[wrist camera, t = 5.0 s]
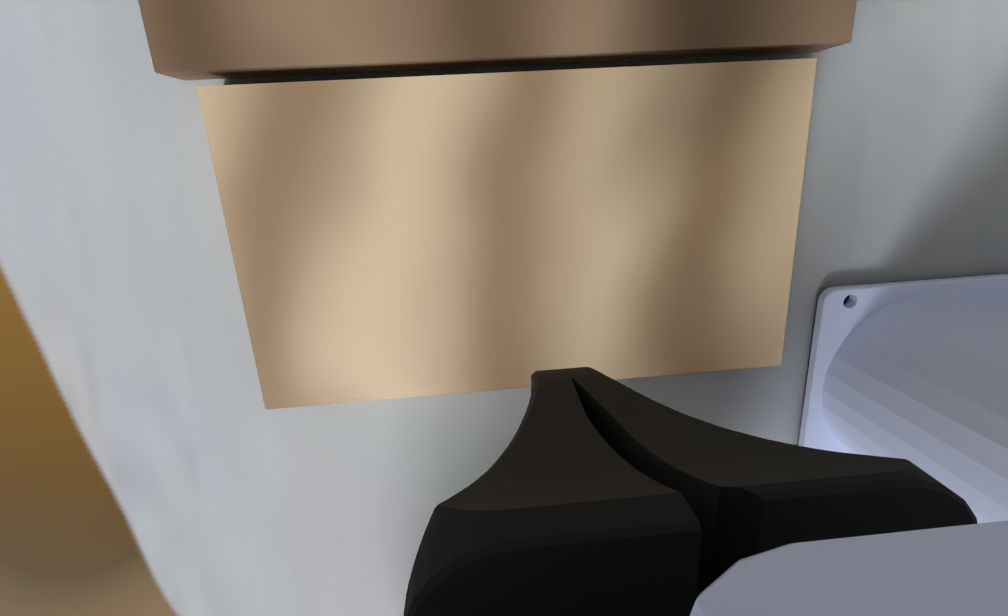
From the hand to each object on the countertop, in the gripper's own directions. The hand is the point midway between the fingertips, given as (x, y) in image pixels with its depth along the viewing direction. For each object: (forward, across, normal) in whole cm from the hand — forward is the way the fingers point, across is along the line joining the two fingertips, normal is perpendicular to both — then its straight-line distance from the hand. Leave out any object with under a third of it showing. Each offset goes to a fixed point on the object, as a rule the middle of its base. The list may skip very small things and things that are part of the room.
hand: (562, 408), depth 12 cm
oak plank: (+7, 0, -3) cm, 8 cm away
